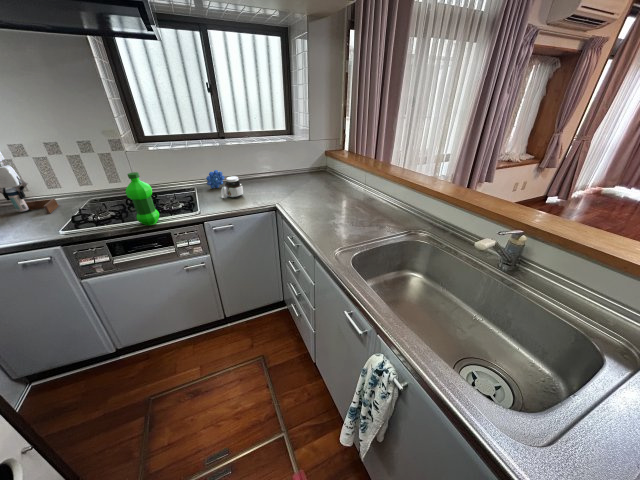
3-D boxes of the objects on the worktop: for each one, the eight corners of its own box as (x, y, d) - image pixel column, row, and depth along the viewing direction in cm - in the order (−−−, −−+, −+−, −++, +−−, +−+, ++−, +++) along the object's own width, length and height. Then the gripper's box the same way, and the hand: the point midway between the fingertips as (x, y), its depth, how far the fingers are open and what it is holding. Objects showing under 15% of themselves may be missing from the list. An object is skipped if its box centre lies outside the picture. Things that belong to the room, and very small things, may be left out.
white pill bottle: (31, 208, 146) (19, 187, 140) (27, 211, 143) (15, 189, 137) (19, 209, 144) (6, 188, 138) (15, 212, 141) (2, 191, 135)
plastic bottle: (166, 219, 136) (151, 171, 124) (151, 228, 127) (133, 177, 115) (149, 217, 138) (132, 169, 125) (133, 226, 129) (113, 176, 117)
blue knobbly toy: (225, 184, 184) (221, 167, 178) (226, 187, 178) (223, 170, 172) (207, 187, 179) (203, 169, 173) (208, 190, 174) (204, 172, 168)
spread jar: (245, 196, 165) (243, 177, 159) (231, 201, 157) (228, 182, 151) (232, 192, 170) (229, 174, 165) (218, 197, 162) (214, 179, 156)
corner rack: (13, 218, 137) (8, 210, 135) (24, 209, 147) (19, 202, 144) (50, 213, 143) (46, 205, 140) (58, 205, 152) (54, 198, 150)
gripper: (-33, 167, 125) (-10, 203, 134) (14, 164, 131) (34, 199, 140) (-23, 163, 131) (-1, 198, 140) (22, 161, 137) (40, 194, 146)
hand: (16, 198), depth 140 cm, fingers closed on white pill bottle, 4 cm apart
